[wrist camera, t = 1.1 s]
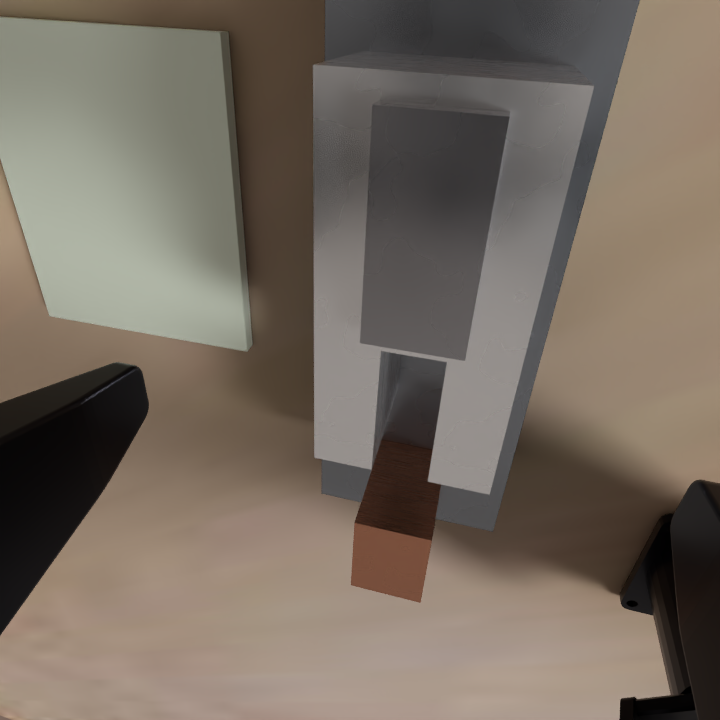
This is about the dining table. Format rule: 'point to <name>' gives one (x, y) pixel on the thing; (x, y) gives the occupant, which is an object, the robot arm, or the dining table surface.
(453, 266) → the lever cap
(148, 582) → the dining table surface
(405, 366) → the hand plane
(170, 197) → the rubber mat
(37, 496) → the robot arm
